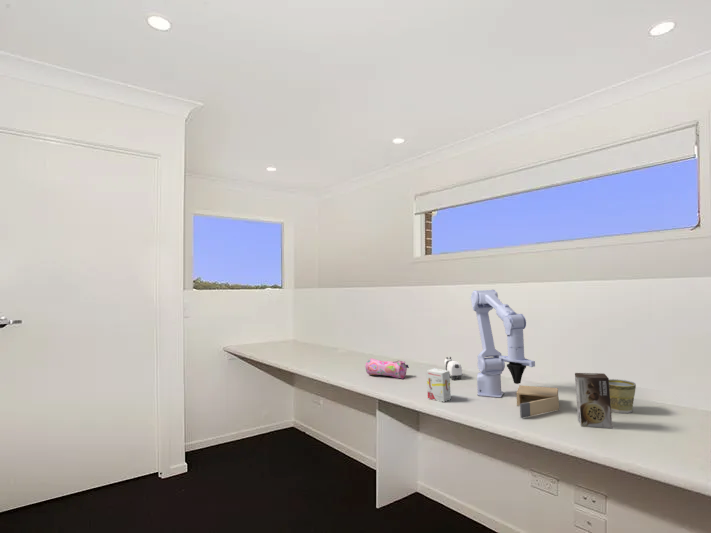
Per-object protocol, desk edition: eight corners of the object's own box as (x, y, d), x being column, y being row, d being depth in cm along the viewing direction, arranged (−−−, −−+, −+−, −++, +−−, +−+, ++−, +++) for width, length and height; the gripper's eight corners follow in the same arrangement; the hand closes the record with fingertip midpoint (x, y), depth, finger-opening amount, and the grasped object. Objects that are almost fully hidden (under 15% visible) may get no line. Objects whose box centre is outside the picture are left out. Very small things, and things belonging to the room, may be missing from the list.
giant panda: (463, 380, 202) (462, 360, 202) (452, 381, 201) (451, 361, 201) (451, 373, 216) (450, 355, 217) (441, 374, 215) (440, 355, 216)
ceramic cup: (626, 416, 143) (625, 387, 143) (598, 409, 151) (596, 381, 152) (648, 410, 149) (646, 382, 149) (619, 403, 157) (618, 376, 158)
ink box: (427, 398, 173) (425, 369, 174) (434, 396, 176) (433, 368, 177) (443, 402, 167) (442, 372, 167) (451, 400, 170) (450, 370, 170)
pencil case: (409, 376, 214) (408, 359, 214) (401, 380, 206) (400, 362, 206) (373, 373, 225) (372, 356, 225) (364, 376, 217) (363, 359, 218)
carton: (517, 406, 159) (516, 392, 159) (520, 397, 169) (519, 385, 170) (557, 410, 152) (557, 396, 153) (558, 401, 163) (557, 388, 163)
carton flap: (521, 418, 144) (521, 404, 145) (520, 417, 145) (519, 403, 145) (559, 409, 152) (558, 396, 152) (557, 409, 152) (557, 396, 152)
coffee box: (607, 422, 138) (604, 373, 139) (612, 428, 132) (609, 377, 133) (577, 420, 141) (574, 372, 142) (580, 426, 135) (577, 376, 136)
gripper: (539, 347, 152) (541, 385, 151) (506, 343, 164) (508, 377, 164) (527, 350, 148) (528, 388, 148) (494, 345, 161) (496, 380, 160)
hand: (517, 383), depth 156 cm, fingers closed
